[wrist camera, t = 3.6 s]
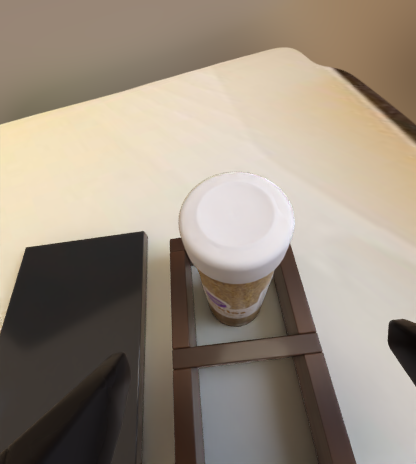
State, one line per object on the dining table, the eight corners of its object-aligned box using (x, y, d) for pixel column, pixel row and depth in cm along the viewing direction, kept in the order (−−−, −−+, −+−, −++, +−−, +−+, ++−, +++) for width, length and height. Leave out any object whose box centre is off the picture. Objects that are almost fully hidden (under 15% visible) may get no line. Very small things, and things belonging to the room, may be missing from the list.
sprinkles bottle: (200, 314, 21) (154, 242, 9) (220, 266, 23) (205, 156, 11) (252, 337, 19) (276, 288, 8) (269, 285, 21) (310, 182, 10)
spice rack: (352, 515, 14) (383, 554, 11) (189, 530, 15) (177, 572, 12) (278, 242, 23) (284, 223, 20) (178, 255, 24) (169, 239, 21)
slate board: (140, 520, 15) (133, 532, 14) (-46, 538, 16) (-66, 550, 14) (147, 236, 25) (144, 230, 24) (34, 252, 25) (25, 247, 24)
